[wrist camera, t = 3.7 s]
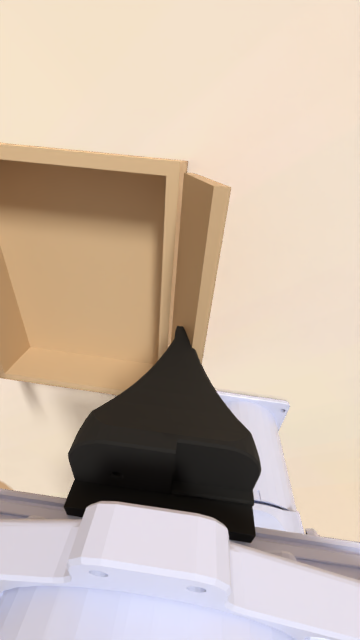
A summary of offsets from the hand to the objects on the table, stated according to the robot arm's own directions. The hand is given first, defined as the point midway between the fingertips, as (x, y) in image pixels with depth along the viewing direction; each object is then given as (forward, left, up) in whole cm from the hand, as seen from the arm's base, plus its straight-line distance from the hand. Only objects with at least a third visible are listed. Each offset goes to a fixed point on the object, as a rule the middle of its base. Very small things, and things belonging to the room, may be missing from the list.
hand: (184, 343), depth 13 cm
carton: (0, +8, -7) cm, 11 cm away
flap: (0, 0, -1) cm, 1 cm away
